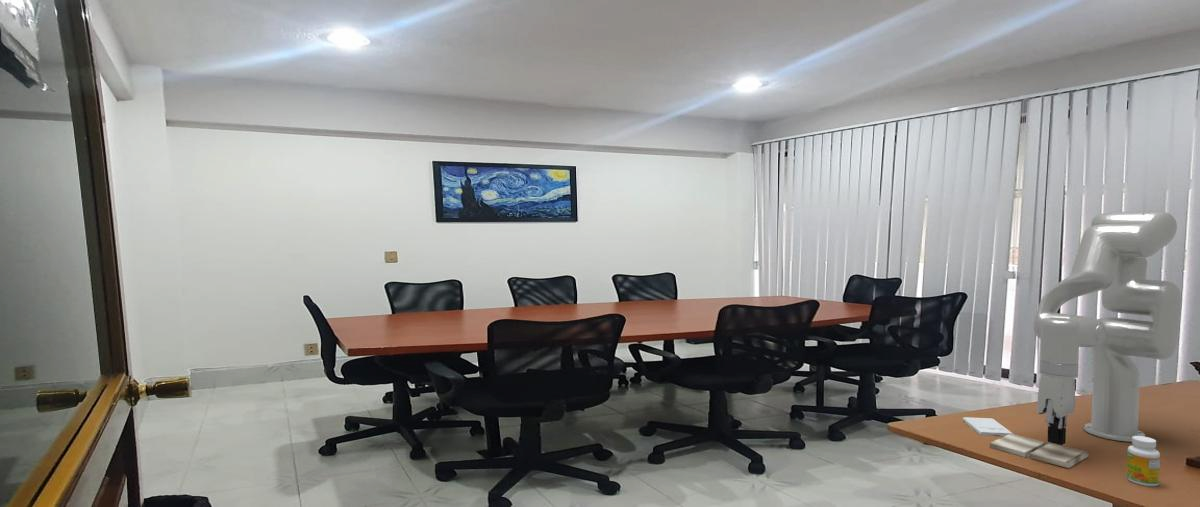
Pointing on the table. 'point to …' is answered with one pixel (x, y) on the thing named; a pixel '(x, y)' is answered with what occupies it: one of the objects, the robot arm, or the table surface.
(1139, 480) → the supplement bottle
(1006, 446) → the laid board
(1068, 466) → the plank
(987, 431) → the external hard drive
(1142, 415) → the table surface
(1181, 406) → the table surface
